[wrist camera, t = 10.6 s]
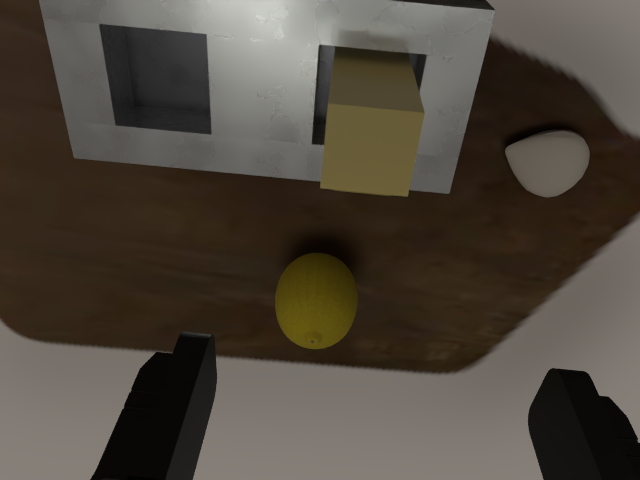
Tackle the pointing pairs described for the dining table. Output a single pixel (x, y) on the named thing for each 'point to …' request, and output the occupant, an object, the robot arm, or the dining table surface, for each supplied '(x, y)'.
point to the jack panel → (252, 78)
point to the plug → (371, 123)
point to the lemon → (316, 300)
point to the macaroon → (549, 161)
